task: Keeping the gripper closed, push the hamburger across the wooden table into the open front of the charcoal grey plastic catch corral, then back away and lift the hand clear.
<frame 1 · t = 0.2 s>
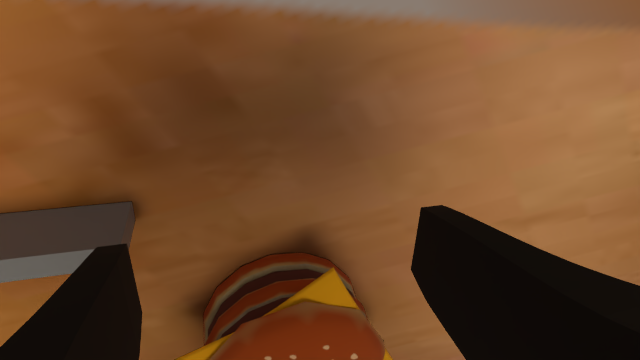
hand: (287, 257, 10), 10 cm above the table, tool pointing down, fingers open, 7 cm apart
hamburger: (281, 309, 25), on the table
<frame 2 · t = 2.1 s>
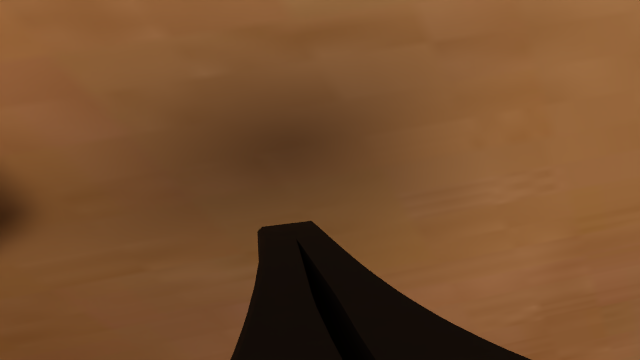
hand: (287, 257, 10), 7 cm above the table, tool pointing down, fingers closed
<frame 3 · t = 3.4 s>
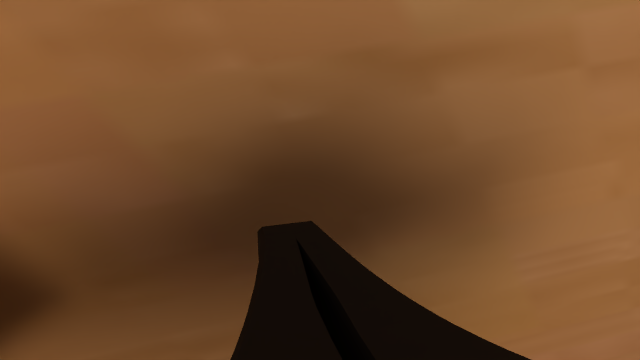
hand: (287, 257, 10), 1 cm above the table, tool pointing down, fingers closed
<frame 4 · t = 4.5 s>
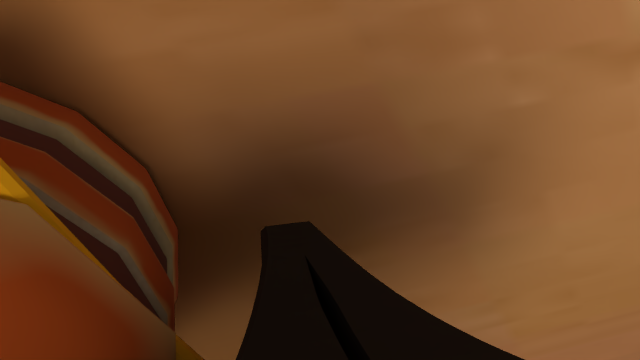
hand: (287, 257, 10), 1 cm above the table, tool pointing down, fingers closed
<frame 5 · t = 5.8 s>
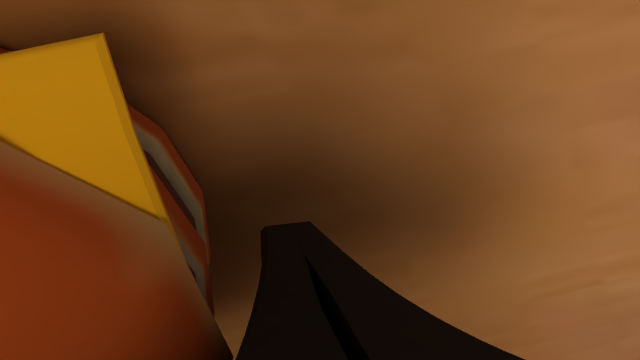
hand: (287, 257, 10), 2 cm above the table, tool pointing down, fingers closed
hamburger: (17, 233, 10), on the table, touching gripper
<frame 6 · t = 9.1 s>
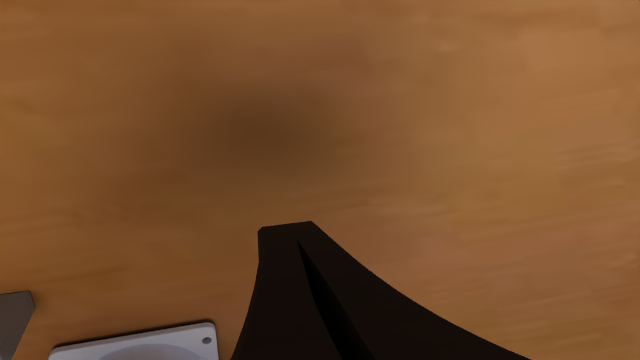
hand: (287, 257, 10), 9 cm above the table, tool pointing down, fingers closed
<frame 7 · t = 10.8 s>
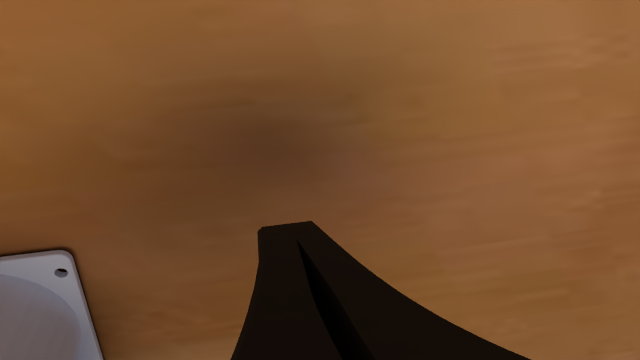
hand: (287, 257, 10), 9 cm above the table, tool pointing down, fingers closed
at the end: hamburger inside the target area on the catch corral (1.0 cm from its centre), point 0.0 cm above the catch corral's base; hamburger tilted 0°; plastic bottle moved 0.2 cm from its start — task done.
